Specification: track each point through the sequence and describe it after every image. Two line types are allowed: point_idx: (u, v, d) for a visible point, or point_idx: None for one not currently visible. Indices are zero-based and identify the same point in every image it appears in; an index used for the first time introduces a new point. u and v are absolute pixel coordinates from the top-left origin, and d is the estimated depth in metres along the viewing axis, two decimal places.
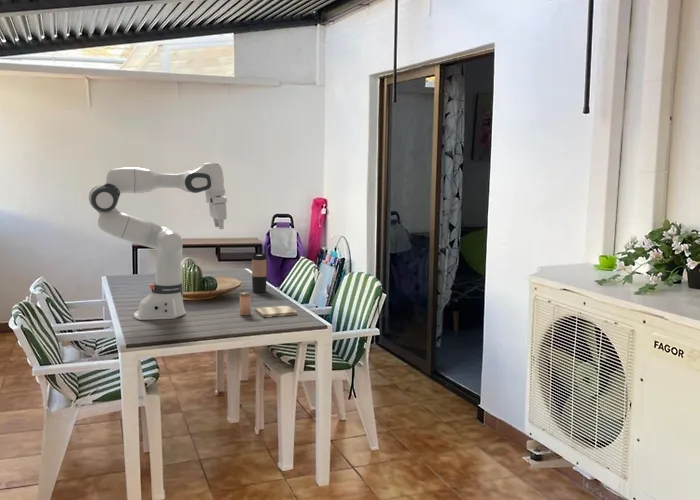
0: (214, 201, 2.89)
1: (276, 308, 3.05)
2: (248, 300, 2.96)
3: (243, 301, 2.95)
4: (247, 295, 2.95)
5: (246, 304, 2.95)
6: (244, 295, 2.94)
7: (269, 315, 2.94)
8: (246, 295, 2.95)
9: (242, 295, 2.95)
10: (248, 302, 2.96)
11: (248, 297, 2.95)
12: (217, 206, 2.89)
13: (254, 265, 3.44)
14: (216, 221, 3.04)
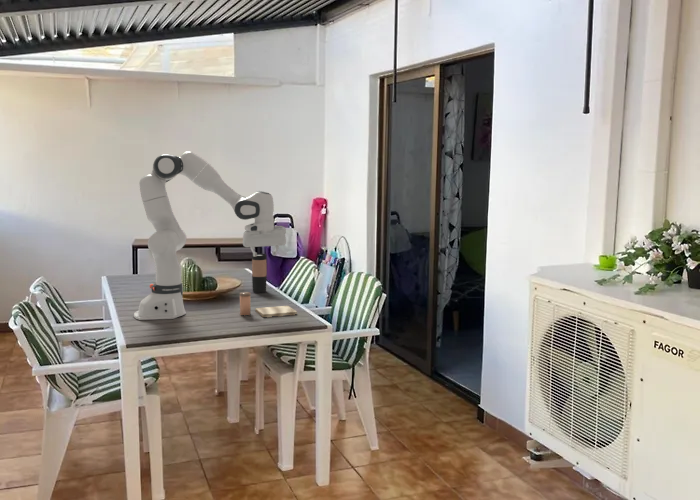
0: None
1: (276, 308, 3.05)
2: (248, 300, 2.96)
3: (243, 301, 2.95)
4: (247, 295, 2.95)
5: (246, 304, 2.95)
6: (244, 295, 2.94)
7: (269, 315, 2.94)
8: (246, 295, 2.95)
9: (242, 295, 2.95)
10: (248, 302, 2.96)
11: (248, 297, 2.95)
12: (244, 233, 3.02)
13: (254, 265, 3.44)
14: (275, 249, 3.07)
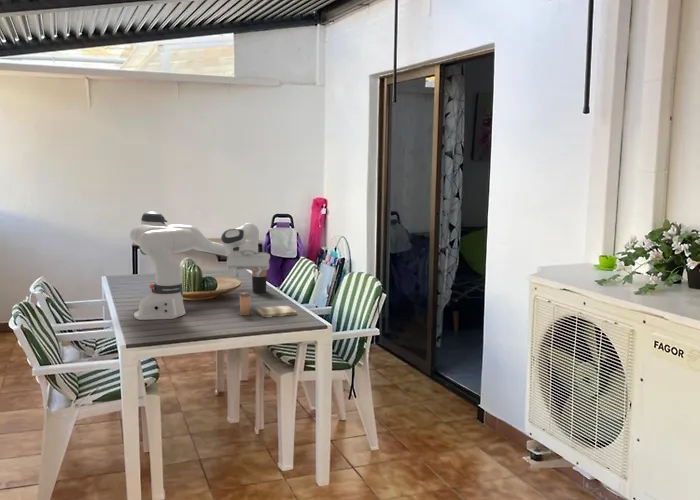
0: None
1: (276, 308, 3.05)
2: (248, 300, 2.96)
3: (243, 301, 2.95)
4: (247, 295, 2.95)
5: (246, 304, 2.95)
6: (244, 295, 2.94)
7: (269, 315, 2.94)
8: (246, 295, 2.95)
9: (242, 295, 2.95)
10: (248, 302, 2.96)
11: (248, 297, 2.95)
12: None
13: None
14: None
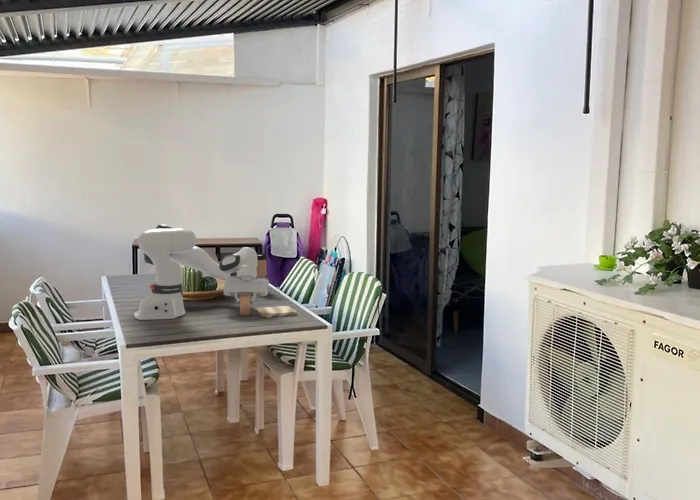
0: None
1: (276, 308, 3.05)
2: (248, 300, 2.96)
3: (243, 301, 2.95)
4: (247, 295, 2.95)
5: (246, 304, 2.95)
6: (244, 295, 2.94)
7: (269, 315, 2.94)
8: (246, 295, 2.95)
9: (242, 295, 2.95)
10: (248, 302, 2.96)
11: (248, 297, 2.95)
12: None
13: None
14: None
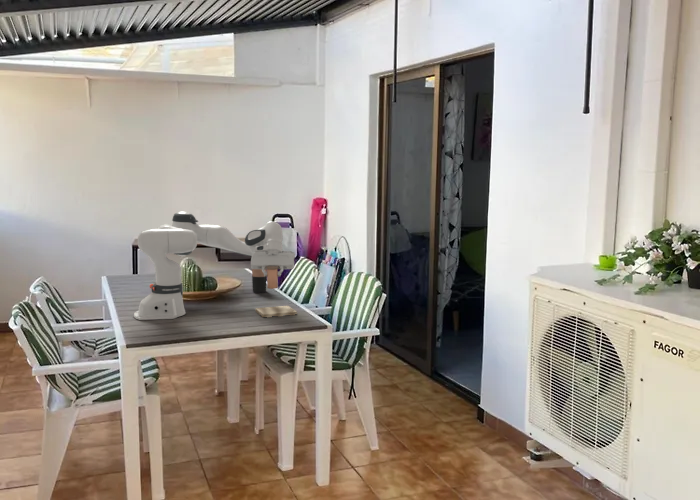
0: None
1: (276, 308, 3.05)
2: (275, 273, 2.99)
3: (270, 274, 2.98)
4: (274, 268, 2.98)
5: (273, 277, 2.98)
6: (272, 268, 2.97)
7: (269, 315, 2.94)
8: (273, 268, 2.98)
9: (270, 268, 2.98)
10: (275, 275, 2.99)
11: (275, 270, 2.99)
12: None
13: None
14: None
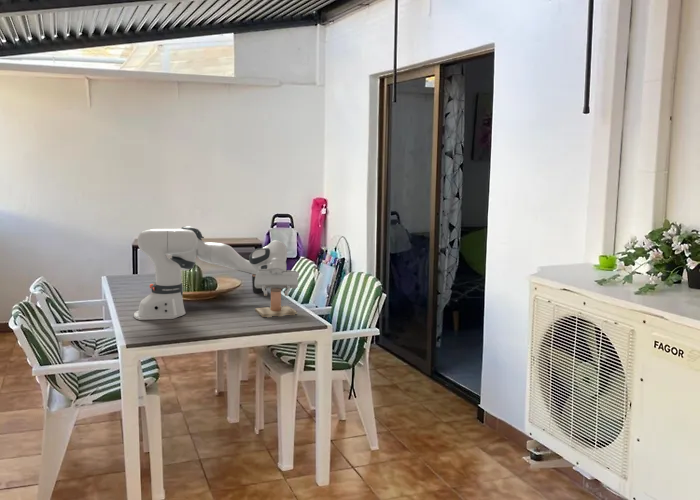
0: None
1: None
2: (279, 295, 2.99)
3: (274, 297, 2.99)
4: (278, 290, 2.98)
5: (277, 299, 2.99)
6: (275, 290, 2.98)
7: (269, 315, 2.94)
8: (277, 290, 2.98)
9: (273, 290, 2.98)
10: (279, 297, 2.99)
11: (279, 292, 2.99)
12: None
13: None
14: None
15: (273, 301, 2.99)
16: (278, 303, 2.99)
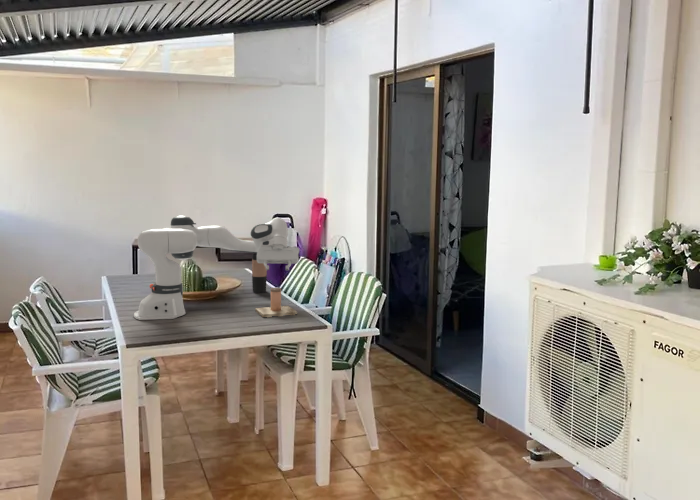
0: None
1: None
2: (279, 295, 2.99)
3: (274, 297, 2.98)
4: (278, 291, 2.98)
5: (277, 299, 2.99)
6: (275, 290, 2.98)
7: (269, 315, 2.94)
8: (277, 290, 2.98)
9: (273, 290, 2.98)
10: (279, 297, 2.99)
11: (279, 292, 2.99)
12: None
13: (254, 265, 3.44)
14: None
15: (273, 301, 2.99)
16: (278, 303, 2.99)
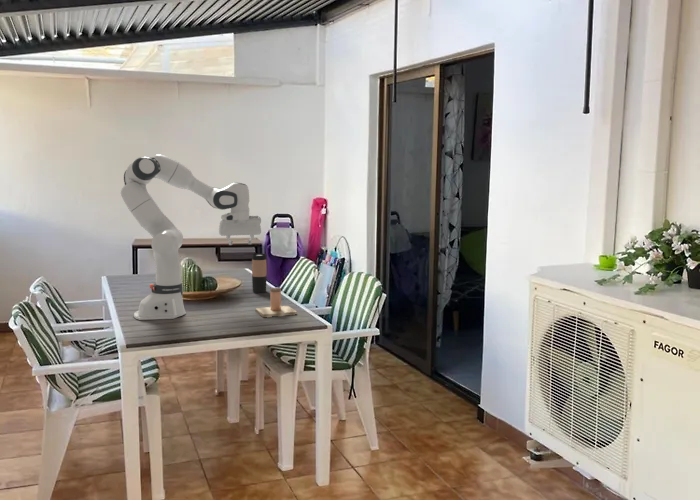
0: (221, 217, 3.14)
1: None
2: (279, 295, 2.99)
3: (273, 297, 2.99)
4: (278, 290, 2.98)
5: (277, 299, 2.99)
6: (275, 290, 2.98)
7: (269, 315, 2.94)
8: (277, 290, 2.98)
9: (273, 290, 2.98)
10: (279, 297, 2.99)
11: (279, 292, 2.99)
12: (220, 222, 3.13)
13: (254, 265, 3.44)
14: (250, 238, 3.19)
15: (273, 301, 2.99)
16: (278, 303, 2.99)
